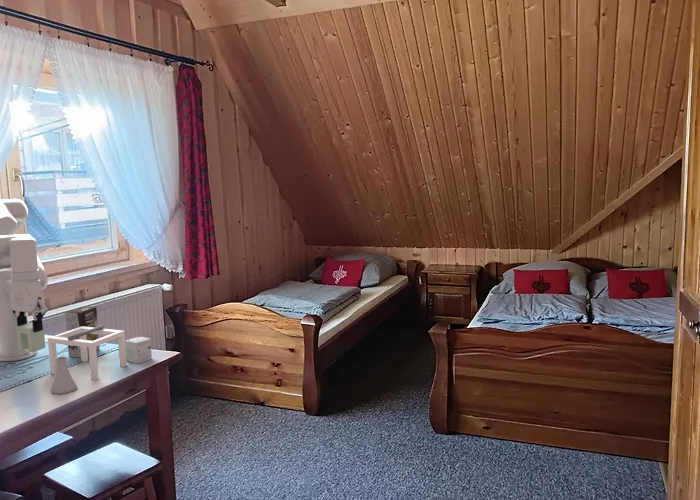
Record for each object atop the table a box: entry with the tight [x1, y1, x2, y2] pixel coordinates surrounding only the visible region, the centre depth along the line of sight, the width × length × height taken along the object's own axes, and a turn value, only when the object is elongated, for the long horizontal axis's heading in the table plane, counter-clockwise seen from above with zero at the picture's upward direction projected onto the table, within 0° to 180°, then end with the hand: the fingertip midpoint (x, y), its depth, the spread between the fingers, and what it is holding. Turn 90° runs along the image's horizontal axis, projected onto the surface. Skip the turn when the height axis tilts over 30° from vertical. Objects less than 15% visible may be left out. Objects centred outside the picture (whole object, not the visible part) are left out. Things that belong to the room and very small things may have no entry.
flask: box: [50, 355, 78, 395], centre depth 167 cm, size 7×7×10 cm
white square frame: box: [47, 324, 128, 381], centre depth 183 cm, size 18×14×13 cm
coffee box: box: [64, 306, 101, 358], centre depth 200 cm, size 9×6×16 cm
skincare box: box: [125, 336, 153, 364], centre depth 193 cm, size 6×6×7 cm
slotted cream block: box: [16, 322, 46, 353], centre depth 183 cm, size 6×5×8 cm
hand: (30, 329), depth 183 cm, fingers closed on slotted cream block, 5 cm apart
